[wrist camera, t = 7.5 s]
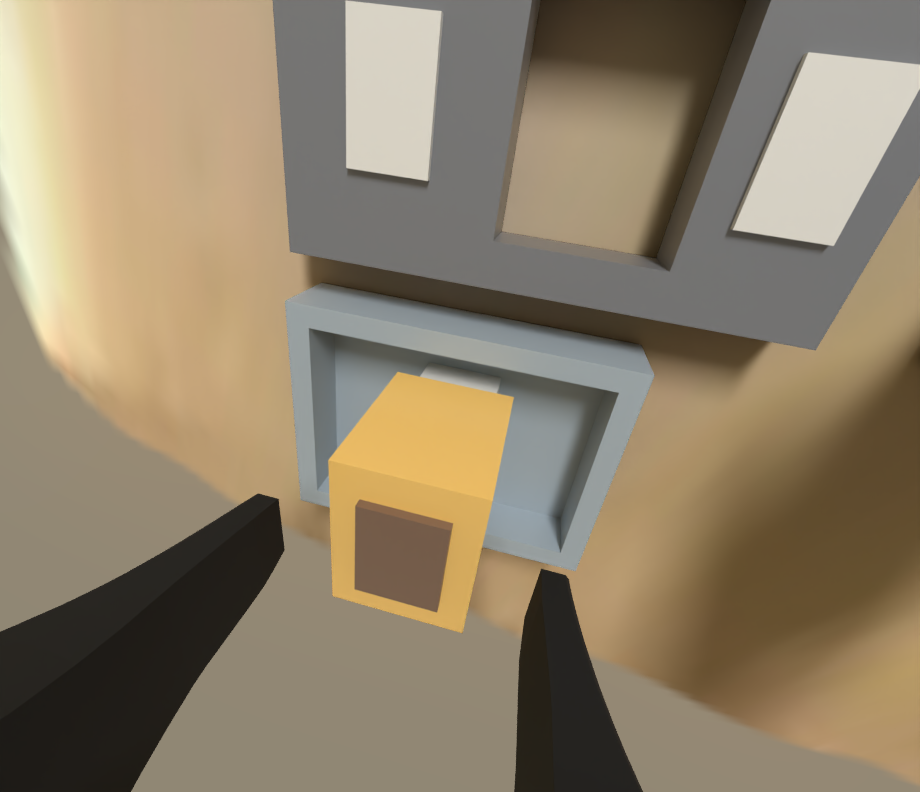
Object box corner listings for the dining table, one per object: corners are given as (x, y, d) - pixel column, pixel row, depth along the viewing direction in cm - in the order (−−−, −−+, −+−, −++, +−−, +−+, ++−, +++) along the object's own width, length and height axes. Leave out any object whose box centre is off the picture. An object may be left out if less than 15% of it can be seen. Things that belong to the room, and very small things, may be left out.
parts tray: (641, 345, 15) (654, 375, 13) (573, 526, 19) (575, 571, 17) (321, 282, 16) (285, 300, 14) (327, 465, 21) (300, 499, 19)
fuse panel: (995, -64, 9) (1106, -122, 7) (784, 326, 14) (819, 353, 12) (307, -118, 11) (255, -175, 9) (320, 242, 16) (286, 252, 14)
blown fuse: (519, 371, 16) (491, 508, 9) (495, 478, 18) (460, 641, 12) (415, 349, 16) (323, 466, 10) (406, 457, 19) (328, 603, 13)
